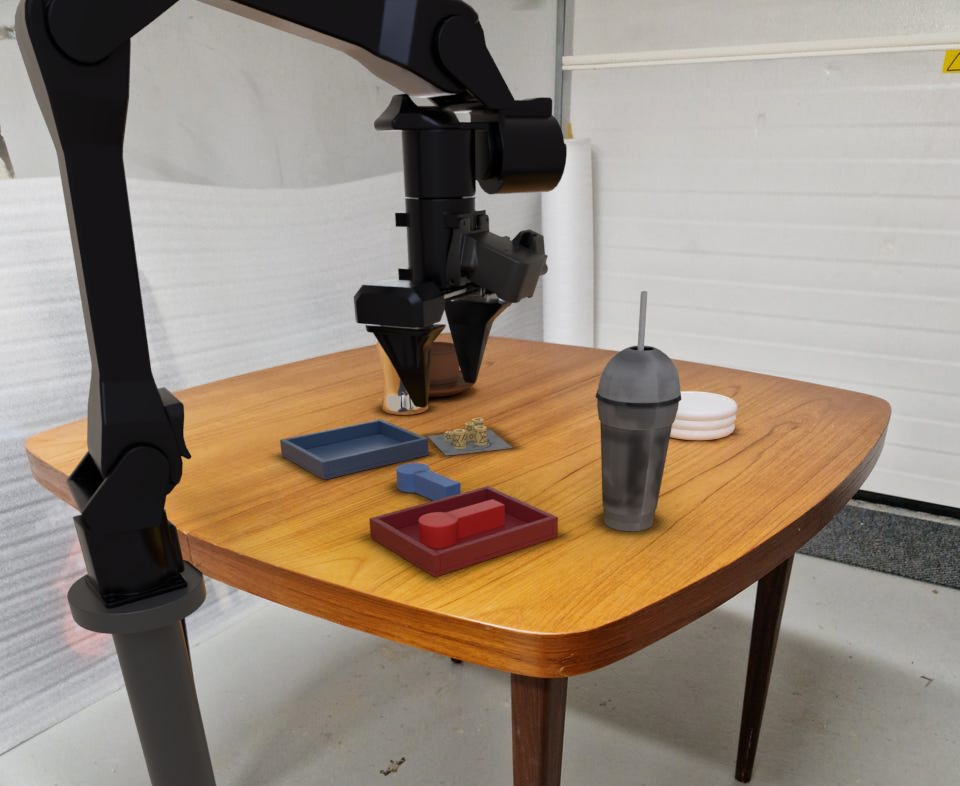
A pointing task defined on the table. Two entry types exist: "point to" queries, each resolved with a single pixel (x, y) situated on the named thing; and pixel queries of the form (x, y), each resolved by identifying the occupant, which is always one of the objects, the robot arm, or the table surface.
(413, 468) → the blue spoon
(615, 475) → the beverage cup
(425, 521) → the red spoon
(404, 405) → the beer glass
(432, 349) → the cup and saucer
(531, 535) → the red tray
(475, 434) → the dice set
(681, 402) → the white stacked discs
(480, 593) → the table surface
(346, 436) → the blue tray
